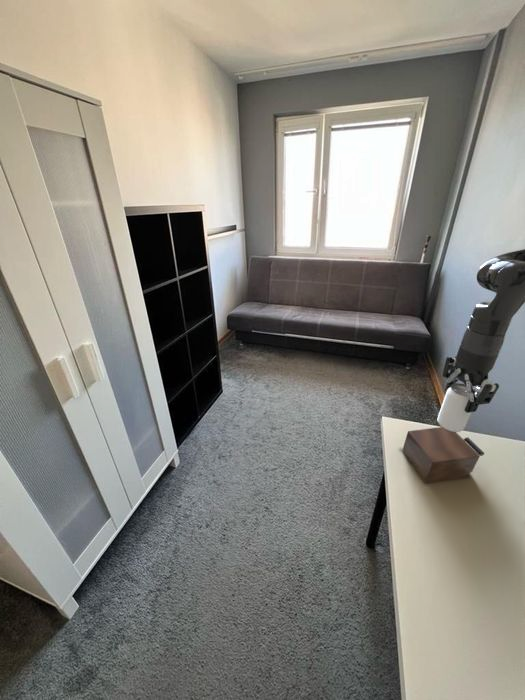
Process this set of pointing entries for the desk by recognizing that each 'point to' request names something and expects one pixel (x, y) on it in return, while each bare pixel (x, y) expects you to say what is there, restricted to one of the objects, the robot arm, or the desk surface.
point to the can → (454, 408)
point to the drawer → (473, 445)
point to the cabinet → (439, 454)
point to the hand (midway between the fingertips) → (458, 402)
